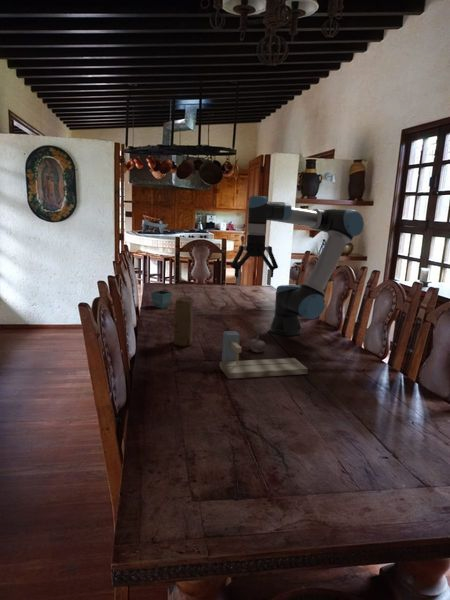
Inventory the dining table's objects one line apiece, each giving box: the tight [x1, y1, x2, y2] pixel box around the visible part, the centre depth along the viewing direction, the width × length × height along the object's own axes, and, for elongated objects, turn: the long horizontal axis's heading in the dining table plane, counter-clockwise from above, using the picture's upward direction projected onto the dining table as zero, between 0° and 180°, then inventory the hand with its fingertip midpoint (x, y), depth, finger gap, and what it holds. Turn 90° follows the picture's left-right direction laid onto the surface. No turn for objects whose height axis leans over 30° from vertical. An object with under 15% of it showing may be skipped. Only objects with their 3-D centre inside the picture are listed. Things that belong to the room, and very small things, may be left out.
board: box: [219, 357, 309, 379], centre depth 167 cm, size 30×12×2 cm, turn 105°
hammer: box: [221, 330, 243, 364], centre depth 169 cm, size 5×13×12 cm, turn 15°
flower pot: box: [150, 289, 173, 309], centre depth 263 cm, size 9×9×9 cm
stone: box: [173, 296, 194, 347], centre depth 194 cm, size 11×8×20 cm
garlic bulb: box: [249, 332, 266, 353], centre depth 190 cm, size 8×7×8 cm
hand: (253, 285), depth 192 cm, fingers open, 13 cm apart
